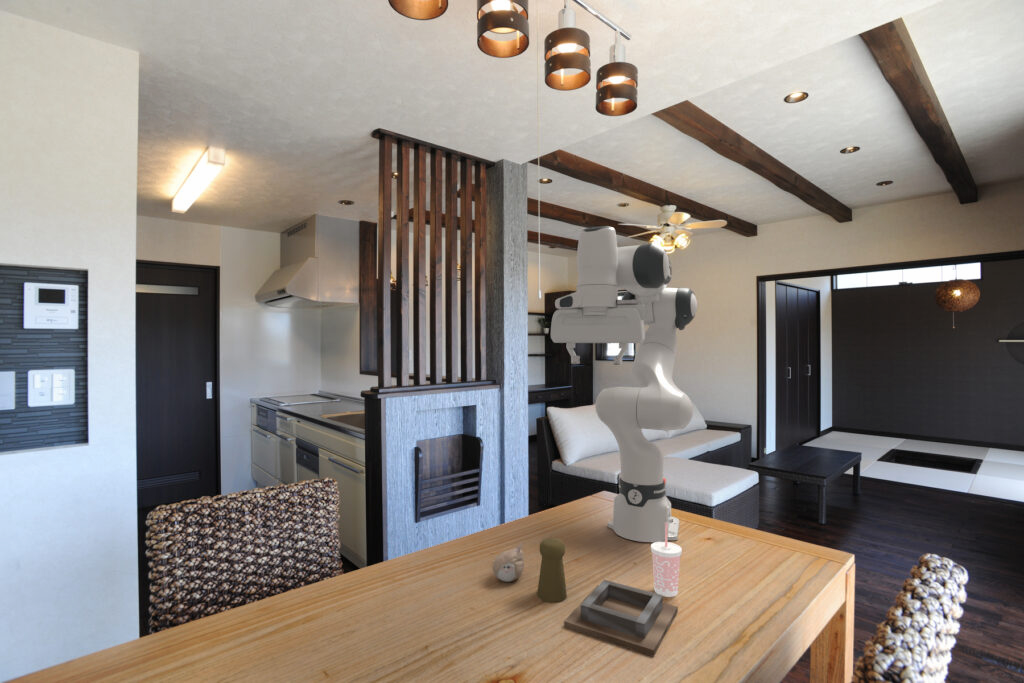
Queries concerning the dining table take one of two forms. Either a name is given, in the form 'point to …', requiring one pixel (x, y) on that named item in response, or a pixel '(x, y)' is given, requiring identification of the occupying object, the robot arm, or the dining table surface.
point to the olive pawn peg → (552, 571)
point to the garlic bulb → (509, 564)
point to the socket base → (624, 616)
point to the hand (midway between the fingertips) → (596, 364)
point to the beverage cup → (666, 566)
